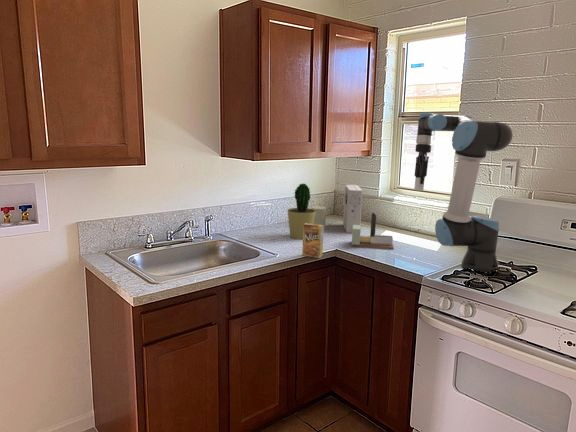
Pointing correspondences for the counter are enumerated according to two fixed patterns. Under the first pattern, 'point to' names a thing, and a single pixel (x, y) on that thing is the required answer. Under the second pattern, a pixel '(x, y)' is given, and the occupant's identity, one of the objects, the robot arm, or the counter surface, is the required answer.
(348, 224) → the white upright box
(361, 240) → the upright peg on base
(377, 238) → the sleeve
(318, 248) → the candy box
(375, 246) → the base board
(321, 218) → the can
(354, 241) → the socket block
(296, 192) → the potted cactus
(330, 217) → the counter surface
